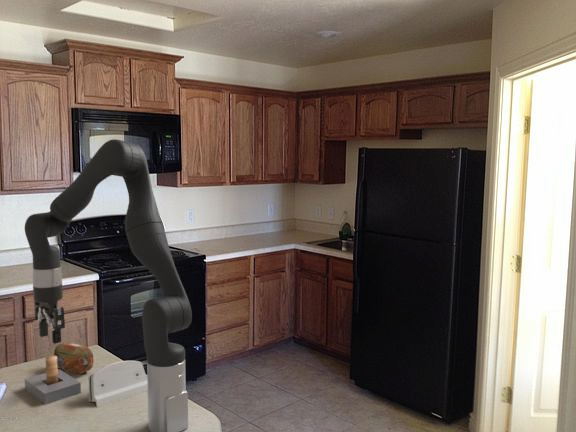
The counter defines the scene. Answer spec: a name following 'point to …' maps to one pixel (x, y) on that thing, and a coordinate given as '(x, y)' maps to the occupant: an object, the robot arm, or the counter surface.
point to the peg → (51, 370)
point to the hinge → (117, 382)
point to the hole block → (52, 387)
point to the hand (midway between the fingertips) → (50, 339)
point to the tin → (74, 358)
